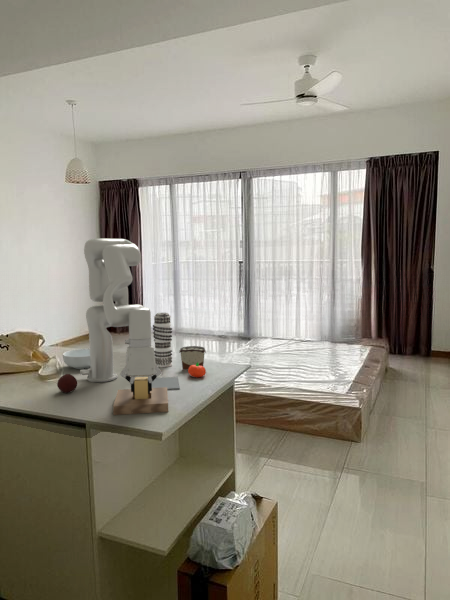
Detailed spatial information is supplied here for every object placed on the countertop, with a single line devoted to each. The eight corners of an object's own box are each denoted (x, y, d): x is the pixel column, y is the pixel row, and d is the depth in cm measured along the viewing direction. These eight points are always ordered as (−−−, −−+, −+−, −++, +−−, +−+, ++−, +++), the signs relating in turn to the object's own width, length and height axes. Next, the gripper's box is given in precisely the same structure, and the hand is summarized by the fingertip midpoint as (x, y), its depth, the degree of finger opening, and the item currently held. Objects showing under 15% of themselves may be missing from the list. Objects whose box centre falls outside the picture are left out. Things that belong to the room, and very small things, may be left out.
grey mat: (138, 391, 170) (138, 390, 170) (139, 379, 186) (139, 378, 186) (179, 389, 172) (179, 387, 172) (177, 378, 188) (177, 376, 188)
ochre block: (135, 406, 153) (134, 381, 152) (135, 401, 157) (135, 377, 156) (148, 405, 154) (147, 380, 153) (148, 401, 158) (147, 376, 157)
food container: (207, 366, 206) (207, 345, 205) (206, 370, 200) (205, 348, 199) (182, 366, 208) (181, 345, 206) (179, 369, 201) (179, 348, 200)
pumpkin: (194, 374, 195) (195, 360, 195) (208, 377, 190) (209, 363, 190) (183, 376, 190) (184, 361, 190) (197, 379, 185) (198, 364, 185)
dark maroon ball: (56, 396, 165) (55, 378, 164) (58, 389, 173) (57, 372, 172) (77, 394, 167) (76, 376, 166) (78, 388, 175) (77, 371, 174)
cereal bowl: (55, 370, 203) (54, 355, 202) (77, 361, 218) (76, 347, 218) (87, 372, 198) (86, 357, 197) (107, 363, 213) (107, 349, 213)
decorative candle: (150, 363, 212) (149, 312, 210) (168, 361, 217) (167, 311, 214) (157, 368, 204) (156, 315, 202) (175, 365, 209) (174, 313, 206)
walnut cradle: (113, 415, 145) (113, 406, 145) (118, 397, 163) (118, 389, 163) (168, 411, 148) (168, 403, 148) (167, 394, 166) (167, 387, 165)
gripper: (114, 345, 148) (116, 398, 150) (164, 344, 151) (165, 395, 153) (116, 341, 156) (118, 391, 158) (164, 339, 158) (165, 389, 160)
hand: (141, 392), depth 155 cm, fingers closed on ochre block, 4 cm apart
